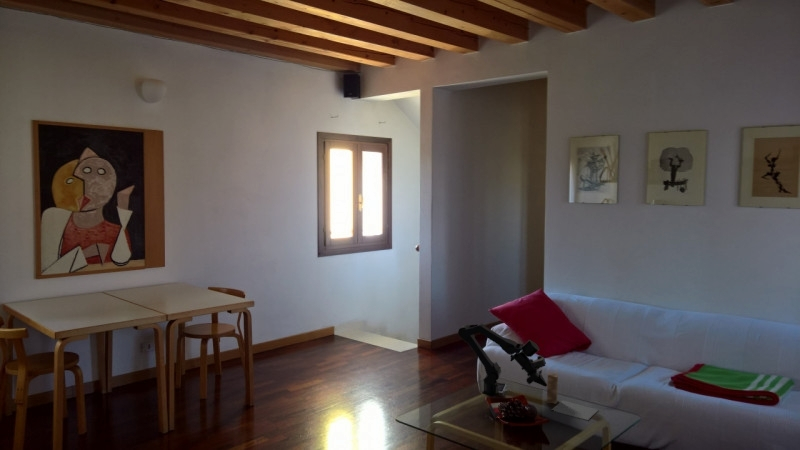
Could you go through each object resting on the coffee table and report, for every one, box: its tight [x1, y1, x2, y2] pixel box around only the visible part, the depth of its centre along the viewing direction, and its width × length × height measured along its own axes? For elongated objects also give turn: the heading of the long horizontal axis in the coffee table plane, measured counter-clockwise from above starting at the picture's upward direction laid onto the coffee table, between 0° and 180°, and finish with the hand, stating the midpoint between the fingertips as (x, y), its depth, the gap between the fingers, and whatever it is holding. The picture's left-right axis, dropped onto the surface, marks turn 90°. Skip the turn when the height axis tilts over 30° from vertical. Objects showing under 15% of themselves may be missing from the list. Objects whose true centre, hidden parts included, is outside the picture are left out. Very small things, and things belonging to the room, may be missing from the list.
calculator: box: [489, 402, 501, 420], centre depth 284 cm, size 11×4×15 cm
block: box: [546, 372, 559, 405], centre depth 297 cm, size 4×4×14 cm
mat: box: [551, 400, 599, 422], centre depth 288 cm, size 18×14×1 cm
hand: (546, 385), depth 298 cm, fingers closed
